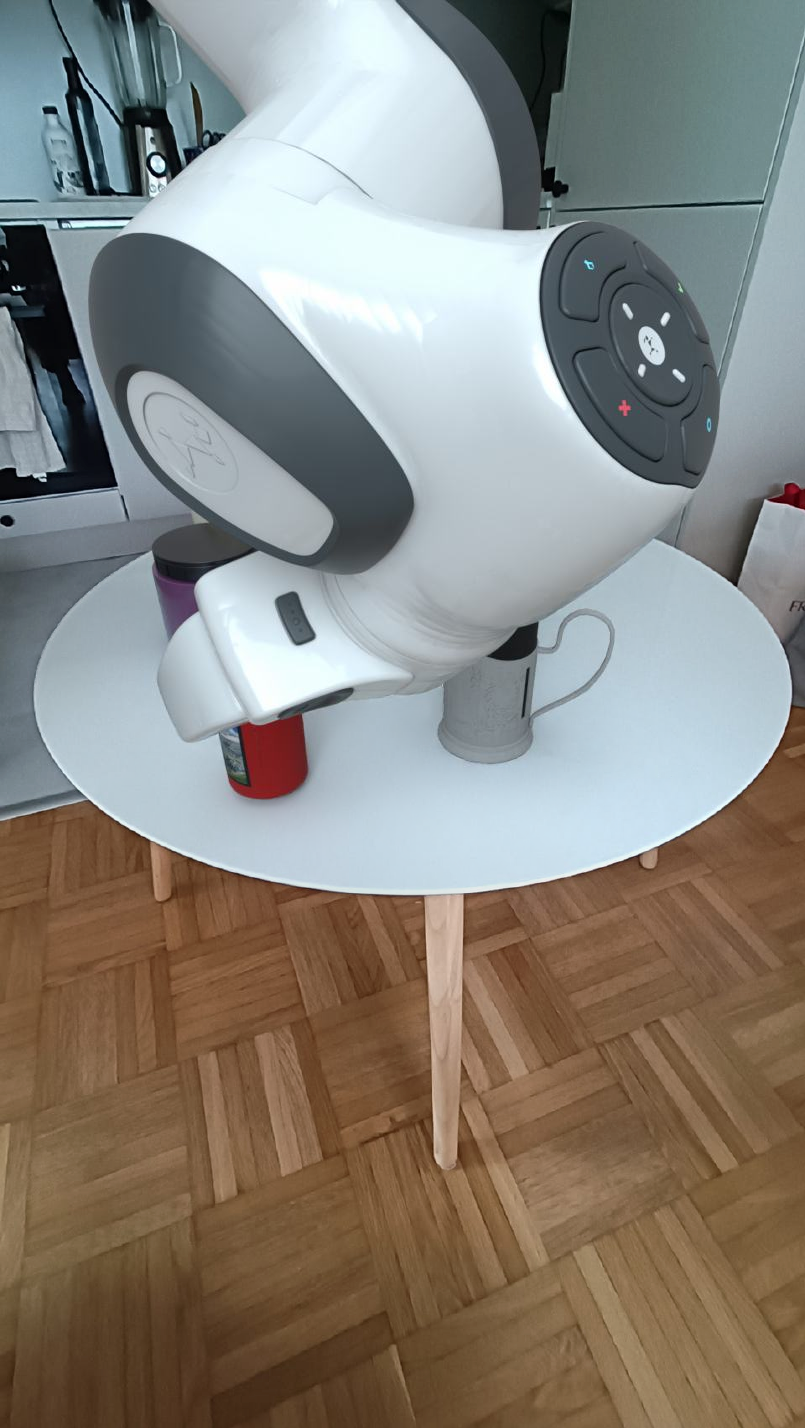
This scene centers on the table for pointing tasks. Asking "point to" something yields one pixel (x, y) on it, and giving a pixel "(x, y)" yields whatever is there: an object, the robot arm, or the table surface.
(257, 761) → the beverage can
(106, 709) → the table surface
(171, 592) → the jar
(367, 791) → the table surface
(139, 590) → the table surface
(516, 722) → the glass holder
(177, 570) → the jar lid
